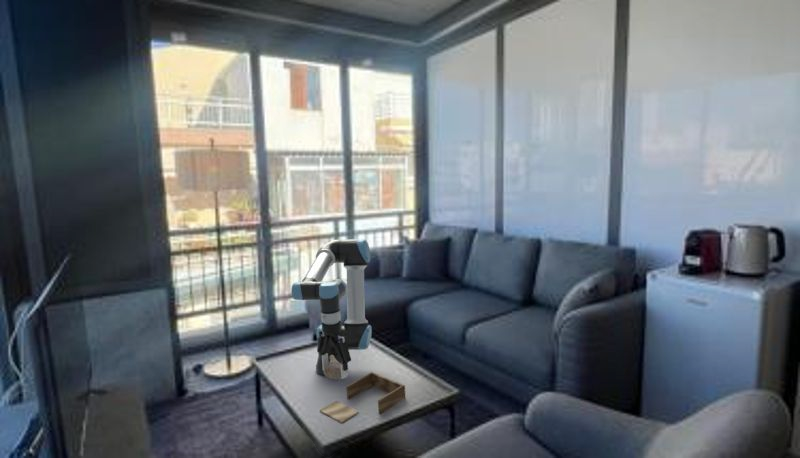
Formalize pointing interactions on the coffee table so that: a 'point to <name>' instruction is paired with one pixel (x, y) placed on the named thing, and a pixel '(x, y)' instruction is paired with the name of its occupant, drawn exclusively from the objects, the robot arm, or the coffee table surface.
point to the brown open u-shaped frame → (392, 387)
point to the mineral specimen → (333, 369)
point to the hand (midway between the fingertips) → (335, 373)
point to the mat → (339, 411)
